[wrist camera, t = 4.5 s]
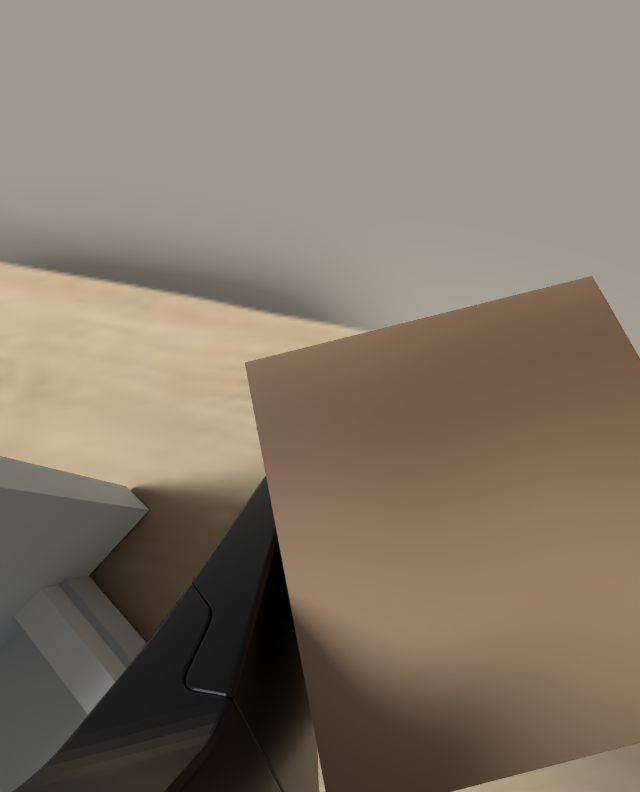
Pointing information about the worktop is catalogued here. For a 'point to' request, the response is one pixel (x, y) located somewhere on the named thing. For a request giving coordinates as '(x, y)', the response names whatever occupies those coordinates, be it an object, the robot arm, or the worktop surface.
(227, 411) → the worktop surface
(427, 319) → the walnut cabinet block
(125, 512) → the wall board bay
